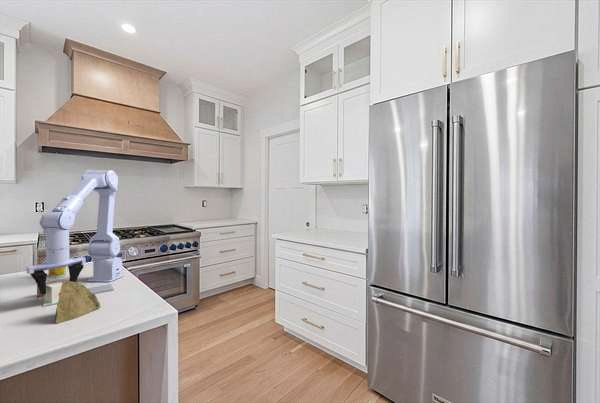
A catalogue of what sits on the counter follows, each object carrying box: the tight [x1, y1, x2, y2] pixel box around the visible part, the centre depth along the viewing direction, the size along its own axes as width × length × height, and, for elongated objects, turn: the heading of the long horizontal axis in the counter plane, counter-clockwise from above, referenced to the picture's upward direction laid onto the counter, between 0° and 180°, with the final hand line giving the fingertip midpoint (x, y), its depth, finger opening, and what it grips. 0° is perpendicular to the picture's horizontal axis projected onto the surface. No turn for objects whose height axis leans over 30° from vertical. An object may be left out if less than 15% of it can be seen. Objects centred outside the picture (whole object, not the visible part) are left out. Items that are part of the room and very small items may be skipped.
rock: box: [54, 281, 101, 325], centre depth 78 cm, size 11×9×10 cm
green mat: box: [43, 298, 58, 307], centre depth 88 cm, size 7×7×1 cm
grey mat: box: [86, 283, 114, 295], centre depth 98 cm, size 7×7×1 cm
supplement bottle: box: [48, 266, 67, 279], centre depth 113 cm, size 5×5×10 cm
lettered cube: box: [44, 279, 67, 303], centre depth 88 cm, size 5×5×5 cm
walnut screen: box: [36, 278, 70, 298], centre depth 94 cm, size 9×3×4 cm, turn 132°
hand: (58, 289), depth 88 cm, fingers open, 7 cm apart
